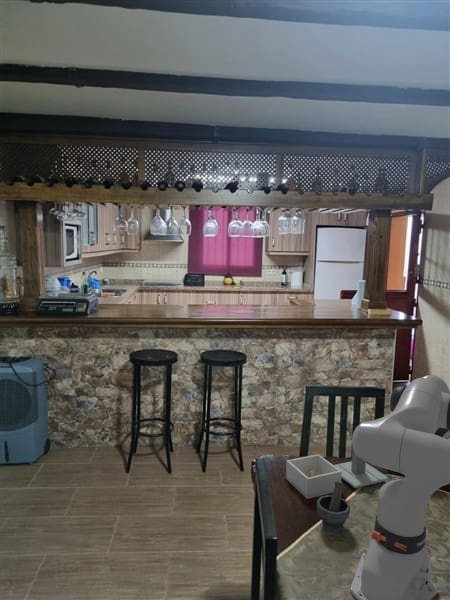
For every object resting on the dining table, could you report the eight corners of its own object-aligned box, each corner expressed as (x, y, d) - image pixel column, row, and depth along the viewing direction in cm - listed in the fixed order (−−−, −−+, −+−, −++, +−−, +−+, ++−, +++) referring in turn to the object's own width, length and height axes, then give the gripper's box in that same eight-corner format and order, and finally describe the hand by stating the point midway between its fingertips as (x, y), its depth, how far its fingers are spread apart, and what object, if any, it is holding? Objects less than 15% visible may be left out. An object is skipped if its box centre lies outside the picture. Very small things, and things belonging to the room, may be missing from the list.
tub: (317, 471, 160) (318, 454, 160) (340, 490, 147) (341, 471, 147) (285, 478, 155) (286, 460, 154) (307, 498, 142) (307, 479, 142)
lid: (360, 464, 167) (361, 435, 165) (388, 483, 153) (390, 451, 151) (329, 471, 161) (330, 440, 160) (354, 492, 147) (356, 458, 146)
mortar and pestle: (342, 540, 122) (344, 501, 120) (311, 528, 127) (313, 490, 126) (353, 520, 131) (355, 483, 130) (324, 509, 136) (326, 474, 135)
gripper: (391, 423, 175) (364, 430, 170) (432, 439, 156) (403, 446, 151) (392, 438, 175) (366, 445, 170) (433, 455, 156) (404, 464, 151)
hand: (384, 446), depth 160 cm, fingers open, 8 cm apart
